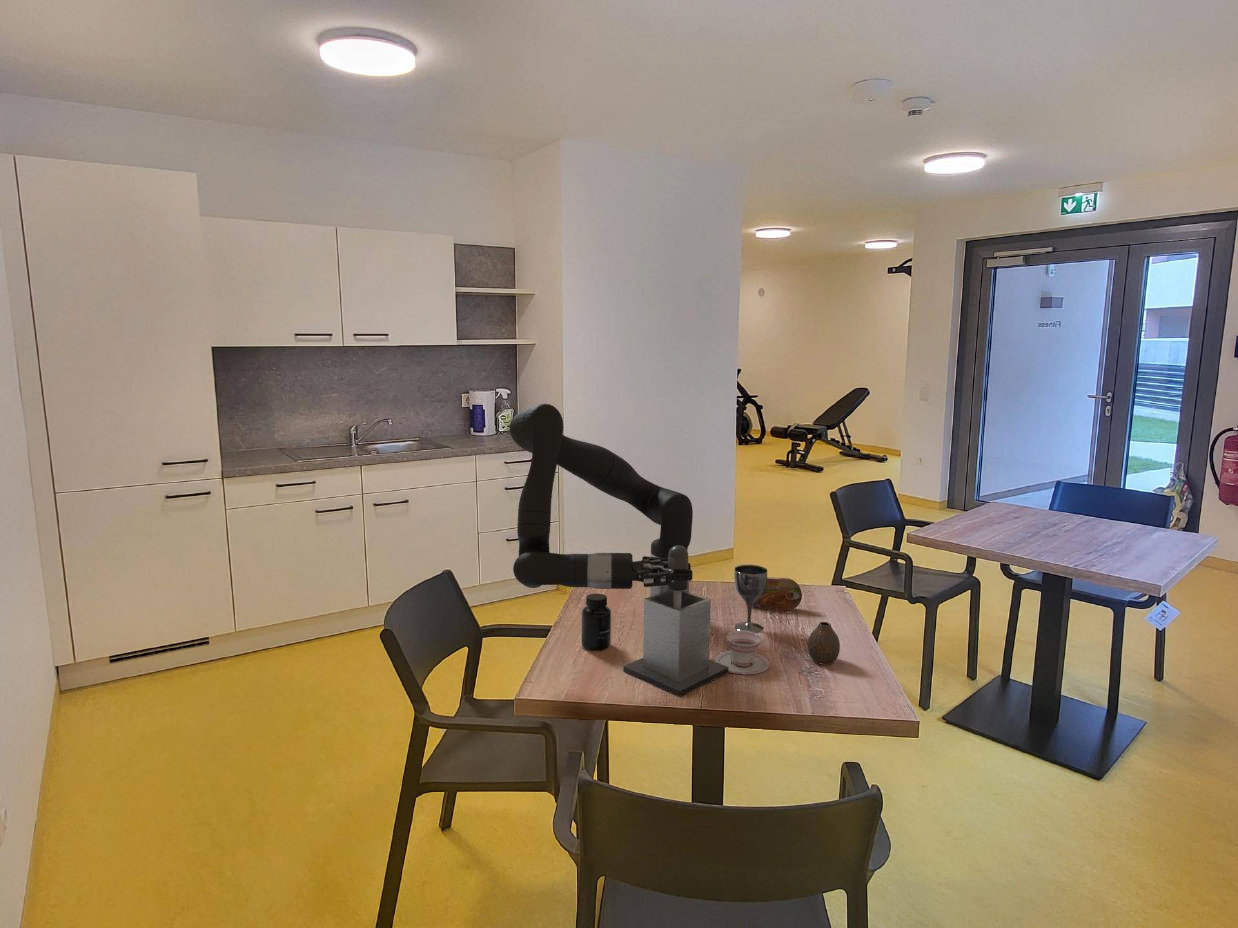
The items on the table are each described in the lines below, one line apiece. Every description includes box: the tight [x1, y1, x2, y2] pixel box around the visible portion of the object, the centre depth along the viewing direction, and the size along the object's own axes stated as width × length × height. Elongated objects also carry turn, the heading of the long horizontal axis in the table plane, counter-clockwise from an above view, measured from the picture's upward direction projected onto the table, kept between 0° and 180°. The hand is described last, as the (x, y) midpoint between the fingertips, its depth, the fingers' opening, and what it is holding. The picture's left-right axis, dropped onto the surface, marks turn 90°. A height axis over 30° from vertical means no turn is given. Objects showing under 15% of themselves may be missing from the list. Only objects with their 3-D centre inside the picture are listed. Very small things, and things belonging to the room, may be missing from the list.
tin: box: [752, 576, 803, 612], centre depth 200 cm, size 15×3×8 cm, turn 77°
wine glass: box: [733, 564, 768, 634], centre depth 186 cm, size 8×8×15 cm
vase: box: [807, 621, 841, 665], centre depth 167 cm, size 7×7×9 cm
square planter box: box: [622, 590, 730, 697], centre depth 161 cm, size 16×16×16 cm
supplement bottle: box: [580, 593, 612, 652], centre depth 175 cm, size 7×7×12 cm
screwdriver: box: [668, 545, 689, 609], centre depth 160 cm, size 8×8×25 cm
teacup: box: [714, 630, 770, 676], centre depth 166 cm, size 12×12×6 cm
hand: (690, 571), depth 158 cm, fingers closed on screwdriver, 4 cm apart
